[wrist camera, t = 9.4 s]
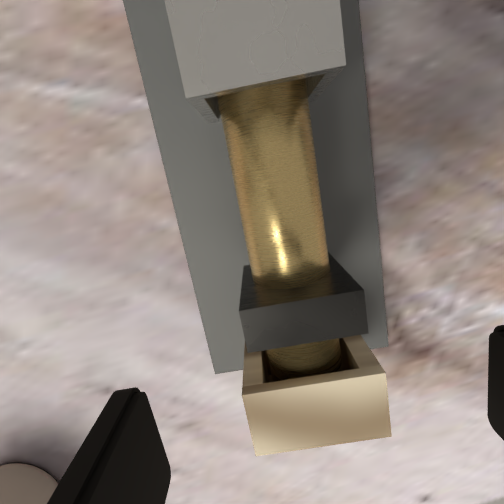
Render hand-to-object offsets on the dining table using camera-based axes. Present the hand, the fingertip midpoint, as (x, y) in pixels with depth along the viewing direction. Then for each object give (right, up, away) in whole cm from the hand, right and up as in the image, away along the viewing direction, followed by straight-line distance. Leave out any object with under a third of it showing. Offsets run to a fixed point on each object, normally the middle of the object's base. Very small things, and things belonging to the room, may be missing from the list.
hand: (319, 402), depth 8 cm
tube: (0, +6, +10) cm, 12 cm away
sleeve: (-2, +16, +11) cm, 19 cm away
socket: (+1, -2, +15) cm, 15 cm away
